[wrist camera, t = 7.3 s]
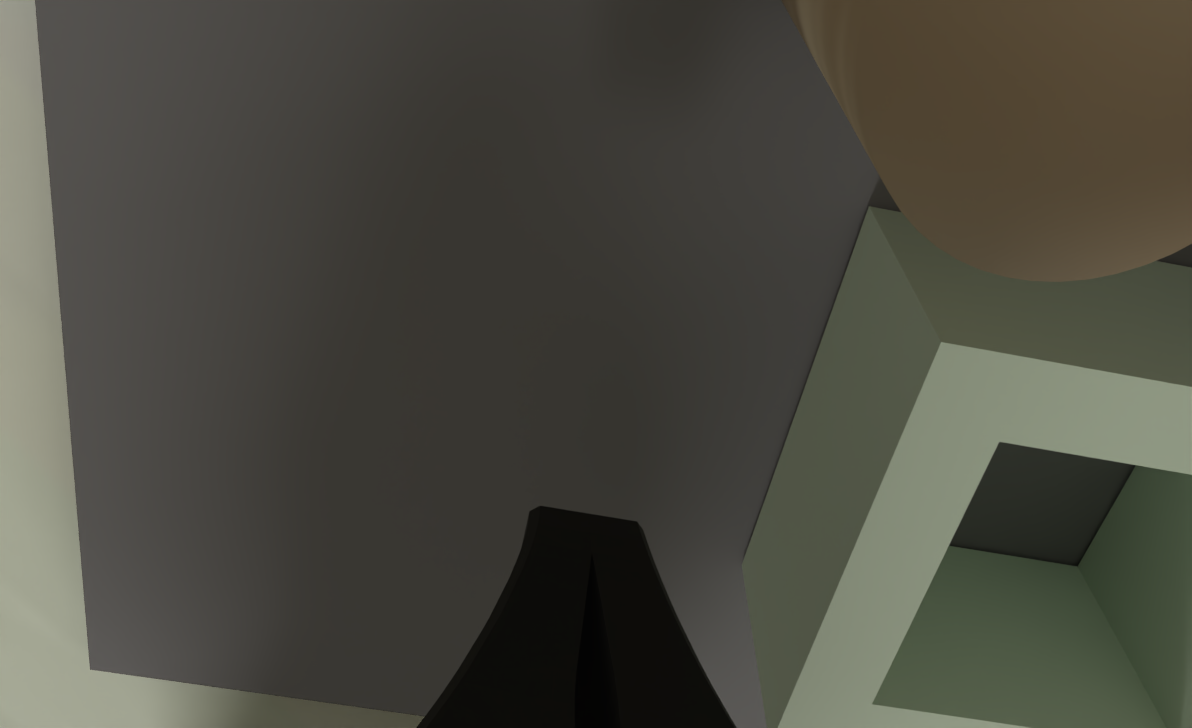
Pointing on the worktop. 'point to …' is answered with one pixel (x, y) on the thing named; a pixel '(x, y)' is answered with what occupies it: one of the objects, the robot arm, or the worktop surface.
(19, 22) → the worktop surface
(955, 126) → the dowel
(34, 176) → the worktop surface
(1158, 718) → the socket block
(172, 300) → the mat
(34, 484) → the worktop surface
